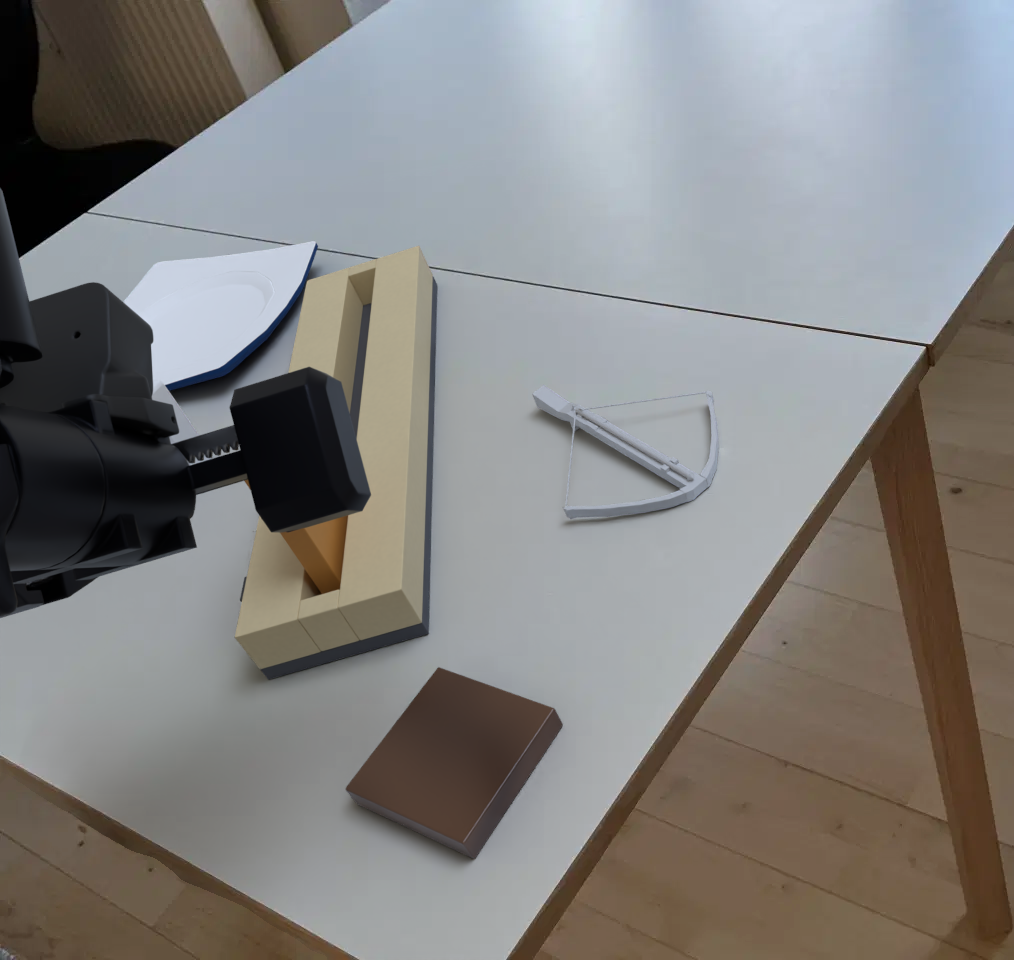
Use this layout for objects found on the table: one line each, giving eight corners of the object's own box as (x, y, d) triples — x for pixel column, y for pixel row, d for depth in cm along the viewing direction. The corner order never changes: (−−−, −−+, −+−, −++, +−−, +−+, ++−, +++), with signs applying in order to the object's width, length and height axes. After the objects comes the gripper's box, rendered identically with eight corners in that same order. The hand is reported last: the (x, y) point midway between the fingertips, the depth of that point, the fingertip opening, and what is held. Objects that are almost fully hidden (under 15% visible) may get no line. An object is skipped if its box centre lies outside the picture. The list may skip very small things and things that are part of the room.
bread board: (474, 860, 52) (463, 843, 51) (356, 804, 56) (343, 788, 55) (564, 724, 57) (554, 707, 56) (448, 682, 61) (438, 666, 60)
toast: (355, 605, 66) (267, 472, 59) (333, 611, 66) (242, 480, 59) (364, 516, 72) (284, 386, 65) (344, 522, 72) (262, 393, 65)
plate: (242, 400, 89) (225, 374, 87) (48, 415, 96) (29, 391, 94) (343, 258, 103) (330, 233, 101) (168, 280, 110) (153, 257, 108)
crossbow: (774, 441, 69) (769, 417, 68) (629, 566, 65) (621, 543, 63) (609, 354, 79) (602, 331, 78) (473, 457, 75) (463, 435, 73)
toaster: (429, 634, 64) (401, 589, 61) (255, 683, 65) (220, 641, 62) (437, 284, 94) (419, 245, 92) (319, 321, 95) (297, 283, 92)
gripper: (218, 202, 40) (367, 297, 55) (-249, 352, 41) (24, 403, 57) (296, 500, 39) (424, 511, 54) (-184, 643, 40) (75, 614, 56)
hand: (232, 504), depth 55 cm, fingers open, 9 cm apart
